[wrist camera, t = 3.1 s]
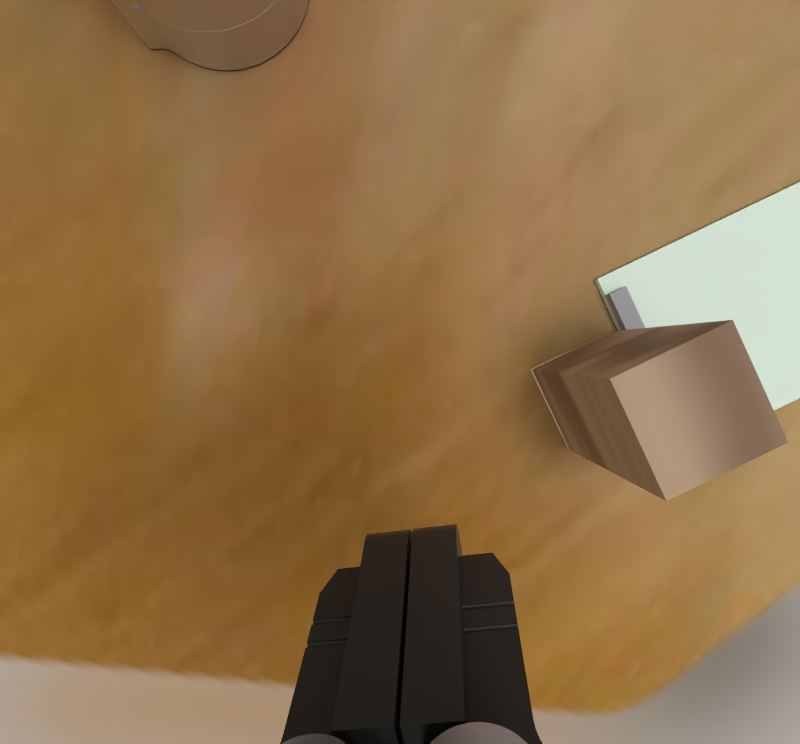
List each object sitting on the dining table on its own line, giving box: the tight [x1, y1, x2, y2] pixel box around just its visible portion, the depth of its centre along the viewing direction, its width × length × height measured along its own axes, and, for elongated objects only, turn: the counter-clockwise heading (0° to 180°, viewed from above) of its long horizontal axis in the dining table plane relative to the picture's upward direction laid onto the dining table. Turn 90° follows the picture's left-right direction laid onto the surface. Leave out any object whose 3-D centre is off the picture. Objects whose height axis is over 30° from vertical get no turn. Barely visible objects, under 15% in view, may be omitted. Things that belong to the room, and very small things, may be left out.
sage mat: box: [595, 182, 800, 410], centre depth 33 cm, size 14×11×1 cm
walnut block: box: [530, 320, 788, 501], centre depth 28 cm, size 5×5×12 cm
